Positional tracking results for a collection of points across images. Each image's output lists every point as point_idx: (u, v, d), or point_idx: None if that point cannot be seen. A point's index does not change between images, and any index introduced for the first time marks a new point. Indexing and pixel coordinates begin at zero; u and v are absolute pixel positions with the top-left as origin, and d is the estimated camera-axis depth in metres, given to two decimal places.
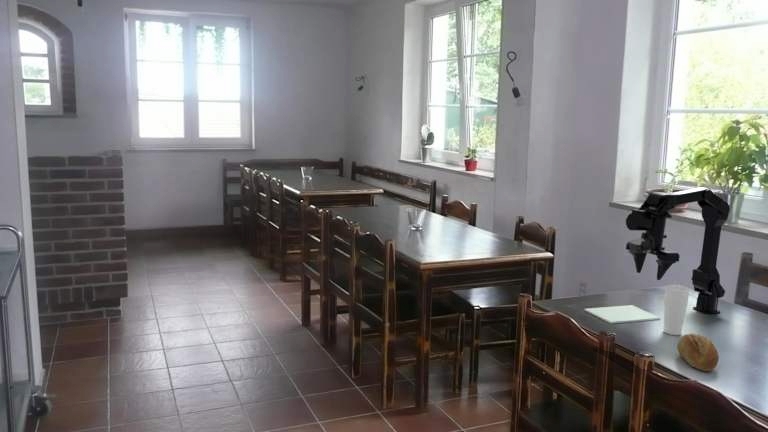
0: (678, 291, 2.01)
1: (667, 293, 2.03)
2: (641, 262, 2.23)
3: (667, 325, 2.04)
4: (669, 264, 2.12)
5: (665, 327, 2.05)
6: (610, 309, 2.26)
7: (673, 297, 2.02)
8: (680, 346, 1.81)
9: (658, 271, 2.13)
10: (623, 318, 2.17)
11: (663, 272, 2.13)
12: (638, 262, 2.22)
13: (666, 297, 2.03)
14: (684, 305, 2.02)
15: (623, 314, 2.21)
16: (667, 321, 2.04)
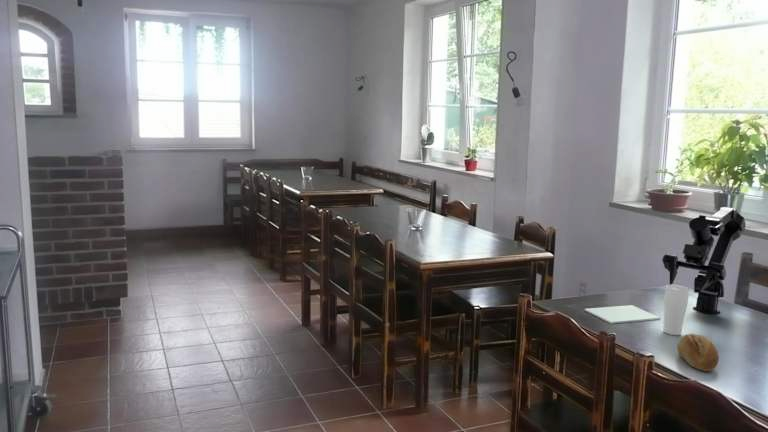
0: (678, 291, 2.01)
1: (667, 293, 2.03)
2: (673, 277, 2.15)
3: (667, 325, 2.04)
4: (712, 280, 2.09)
5: (665, 327, 2.05)
6: (610, 309, 2.26)
7: (673, 297, 2.02)
8: (680, 346, 1.81)
9: (704, 281, 2.07)
10: (623, 318, 2.17)
11: (706, 285, 2.08)
12: (673, 274, 2.14)
13: (666, 297, 2.03)
14: (684, 305, 2.02)
15: (623, 314, 2.21)
16: (667, 321, 2.04)
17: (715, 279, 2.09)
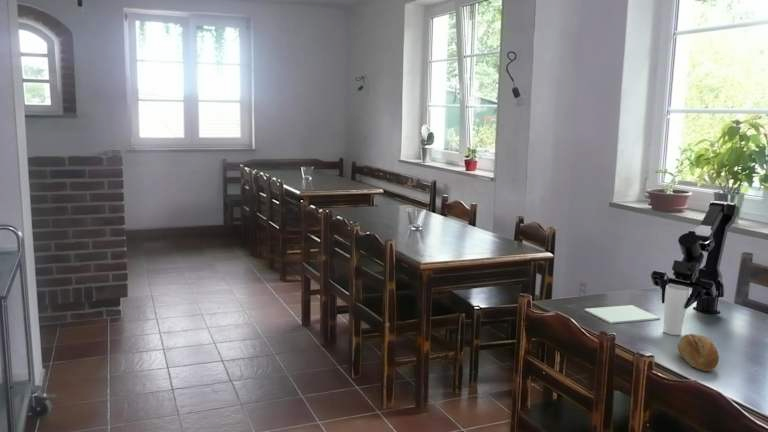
0: (678, 291, 2.01)
1: (667, 293, 2.03)
2: None
3: (667, 325, 2.04)
4: (698, 297, 2.03)
5: (665, 327, 2.05)
6: (610, 309, 2.26)
7: (673, 297, 2.01)
8: (680, 346, 1.81)
9: (690, 298, 2.01)
10: (623, 318, 2.17)
11: (692, 302, 2.02)
12: None
13: (666, 297, 2.03)
14: (684, 305, 2.02)
15: (623, 314, 2.21)
16: (667, 321, 2.04)
17: (701, 296, 2.03)
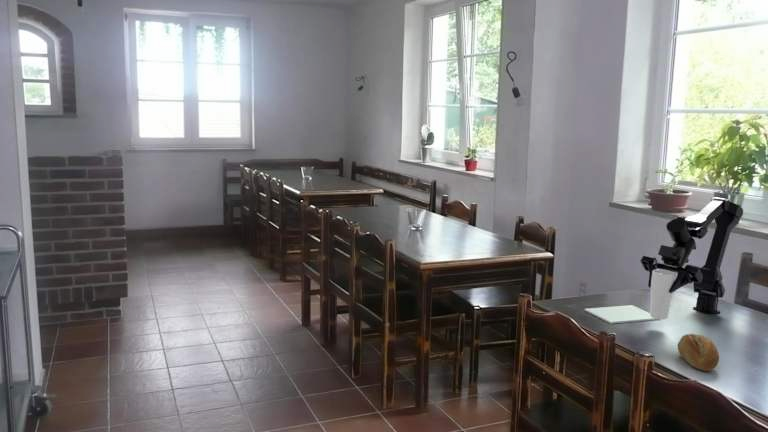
0: (662, 275, 2.04)
1: (652, 277, 2.07)
2: None
3: (653, 309, 2.08)
4: (685, 282, 2.05)
5: (651, 311, 2.08)
6: (610, 309, 2.26)
7: (657, 281, 2.05)
8: (680, 346, 1.81)
9: (674, 283, 2.04)
10: (623, 318, 2.17)
11: (677, 287, 2.04)
12: None
13: (652, 281, 2.07)
14: (669, 289, 2.04)
15: (623, 314, 2.21)
16: (653, 305, 2.07)
17: (688, 281, 2.05)
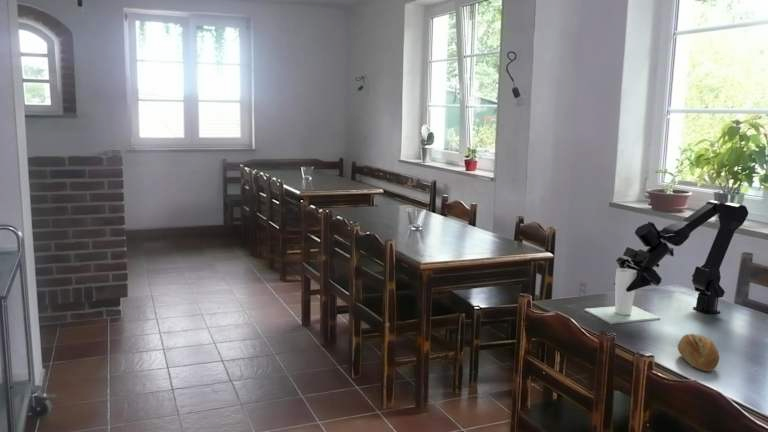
0: (621, 273, 2.18)
1: None
2: None
3: (615, 304, 2.22)
4: (645, 284, 2.16)
5: (615, 306, 2.23)
6: (610, 309, 2.26)
7: (617, 278, 2.19)
8: (680, 346, 1.81)
9: (632, 282, 2.17)
10: (623, 318, 2.17)
11: (635, 287, 2.17)
12: None
13: (615, 278, 2.22)
14: (627, 287, 2.17)
15: None
16: (615, 301, 2.22)
17: (647, 283, 2.16)
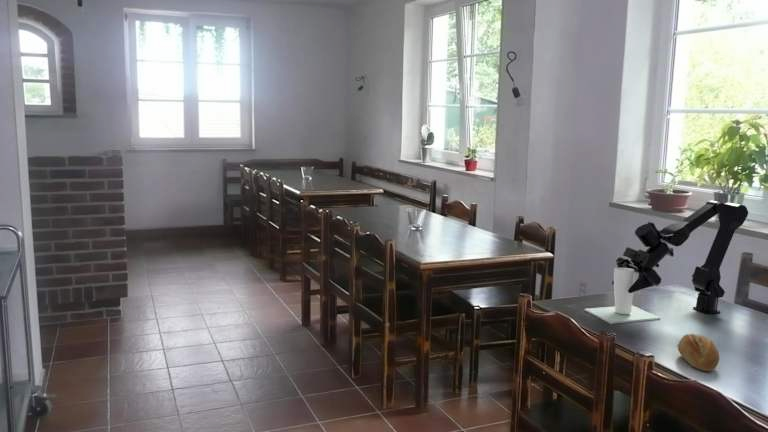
0: (619, 271, 2.19)
1: None
2: None
3: (615, 304, 2.22)
4: (646, 285, 2.15)
5: None
6: (610, 309, 2.26)
7: (615, 277, 2.20)
8: (681, 346, 1.81)
9: (634, 284, 2.15)
10: (623, 318, 2.17)
11: (637, 288, 2.16)
12: None
13: None
14: (626, 285, 2.18)
15: (623, 314, 2.21)
16: (615, 300, 2.22)
17: (649, 284, 2.15)
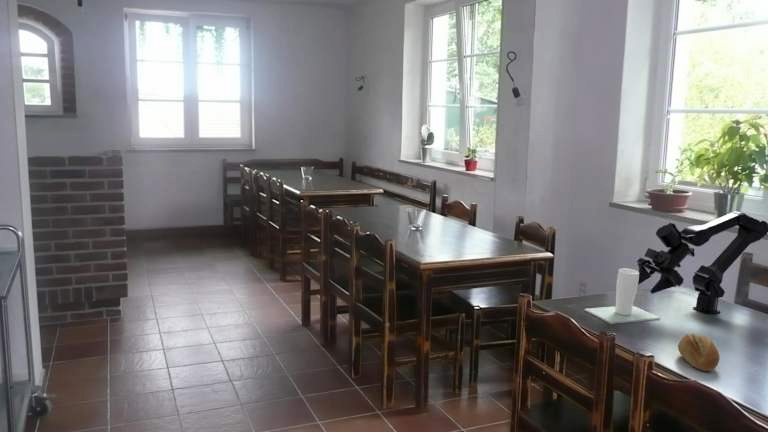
0: (623, 274, 2.17)
1: (617, 275, 2.20)
2: (642, 279, 2.28)
3: (616, 304, 2.22)
4: (669, 285, 2.17)
5: None
6: (610, 309, 2.26)
7: (619, 279, 2.18)
8: (681, 346, 1.82)
9: (656, 284, 2.18)
10: (623, 318, 2.17)
11: (659, 288, 2.18)
12: (640, 276, 2.27)
13: (617, 278, 2.21)
14: (629, 288, 2.17)
15: None
16: (616, 301, 2.21)
17: (672, 284, 2.17)
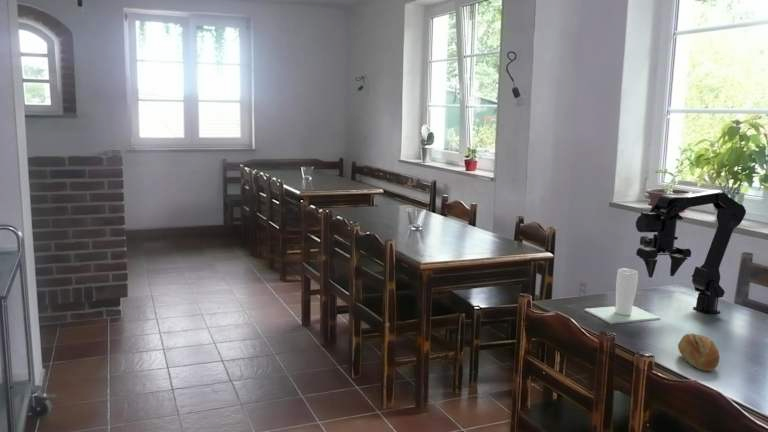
0: (622, 273, 2.17)
1: (617, 275, 2.21)
2: (675, 267, 2.24)
3: (616, 304, 2.22)
4: (651, 262, 2.19)
5: (615, 306, 2.23)
6: (610, 309, 2.26)
7: (619, 278, 2.19)
8: (681, 346, 1.82)
9: None
10: (623, 318, 2.17)
11: (650, 270, 2.21)
12: (671, 265, 2.25)
13: (616, 278, 2.21)
14: (629, 287, 2.17)
15: None
16: (616, 301, 2.21)
17: (650, 260, 2.19)
